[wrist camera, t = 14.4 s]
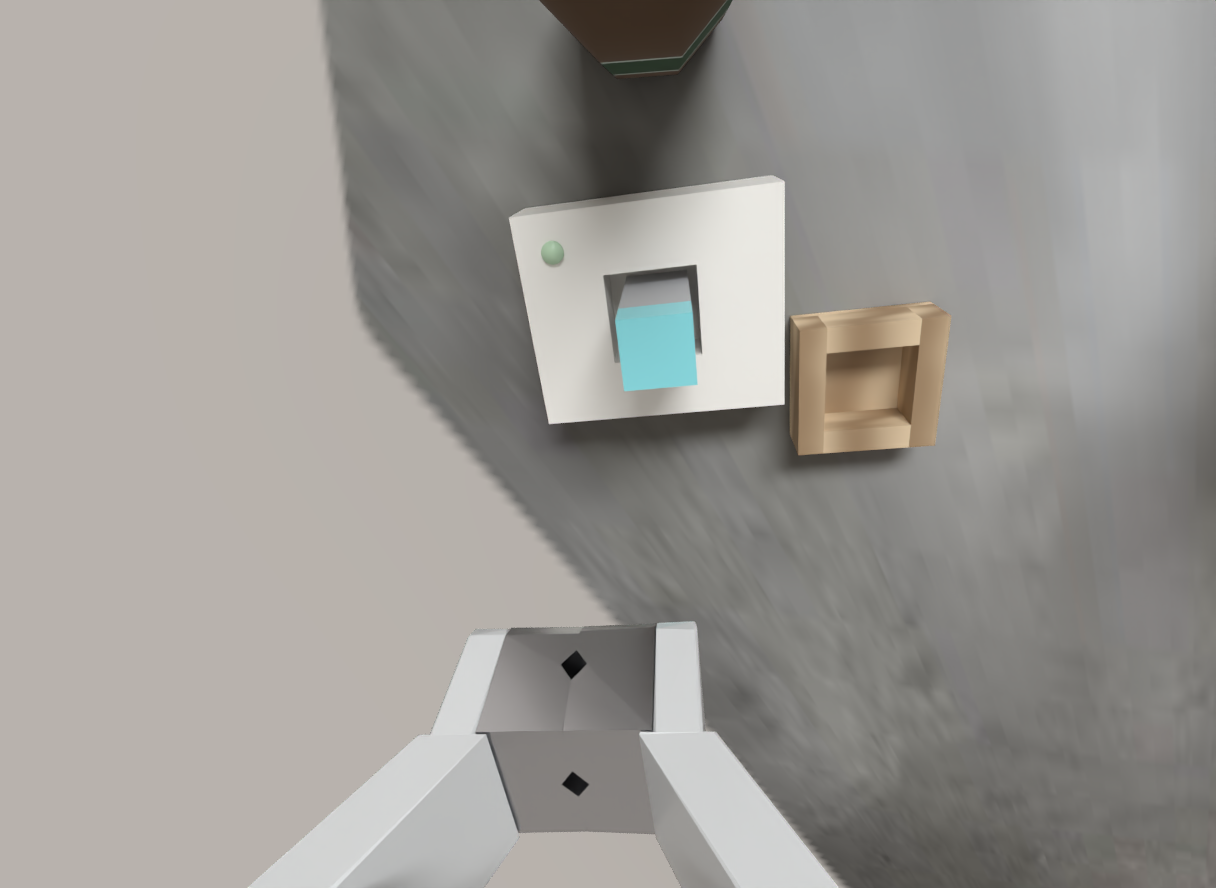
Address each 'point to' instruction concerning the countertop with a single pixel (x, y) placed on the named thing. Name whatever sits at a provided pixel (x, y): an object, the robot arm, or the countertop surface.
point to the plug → (656, 332)
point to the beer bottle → (640, 31)
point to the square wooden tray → (867, 377)
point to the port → (645, 244)
